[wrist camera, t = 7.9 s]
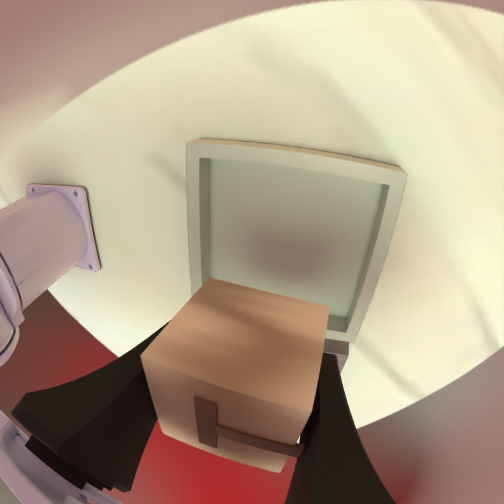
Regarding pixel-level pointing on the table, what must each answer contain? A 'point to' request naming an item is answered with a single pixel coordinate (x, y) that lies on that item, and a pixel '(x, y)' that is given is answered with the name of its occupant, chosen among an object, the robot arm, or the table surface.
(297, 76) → the table surface
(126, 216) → the table surface
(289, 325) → the letter cube
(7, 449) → the robot arm
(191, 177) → the sage tray
